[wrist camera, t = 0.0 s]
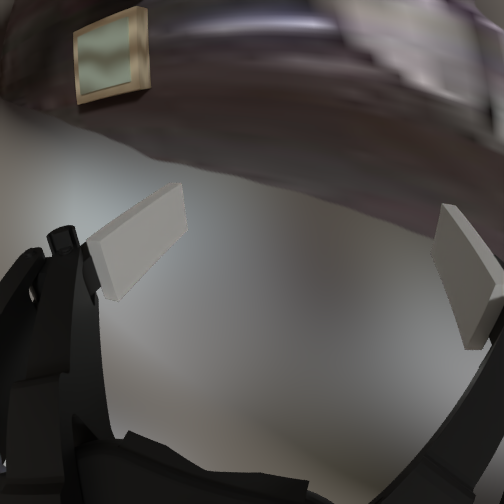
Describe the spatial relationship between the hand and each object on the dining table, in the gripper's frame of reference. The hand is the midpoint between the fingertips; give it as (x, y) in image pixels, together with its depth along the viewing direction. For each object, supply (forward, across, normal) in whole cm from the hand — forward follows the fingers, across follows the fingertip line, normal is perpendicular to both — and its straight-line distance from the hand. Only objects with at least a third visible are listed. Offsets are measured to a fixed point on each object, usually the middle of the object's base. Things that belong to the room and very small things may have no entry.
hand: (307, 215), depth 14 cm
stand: (+28, -33, +15) cm, 46 cm away
